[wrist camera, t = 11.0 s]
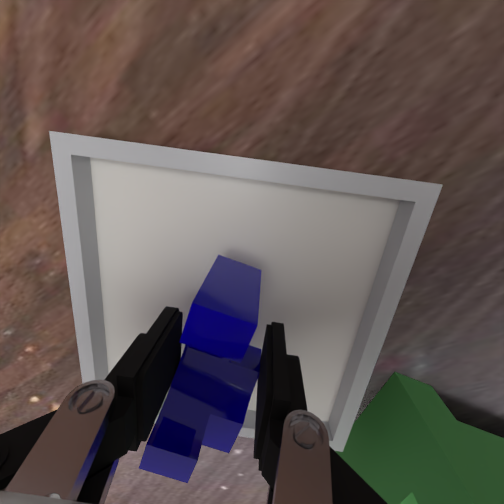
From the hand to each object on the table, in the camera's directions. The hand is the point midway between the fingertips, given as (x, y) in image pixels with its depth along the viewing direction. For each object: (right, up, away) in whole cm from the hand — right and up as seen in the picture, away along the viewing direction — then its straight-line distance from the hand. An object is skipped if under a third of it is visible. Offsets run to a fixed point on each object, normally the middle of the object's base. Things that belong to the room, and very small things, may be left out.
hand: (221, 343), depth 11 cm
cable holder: (0, 0, +1) cm, 1 cm away
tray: (0, +1, +4) cm, 4 cm away
